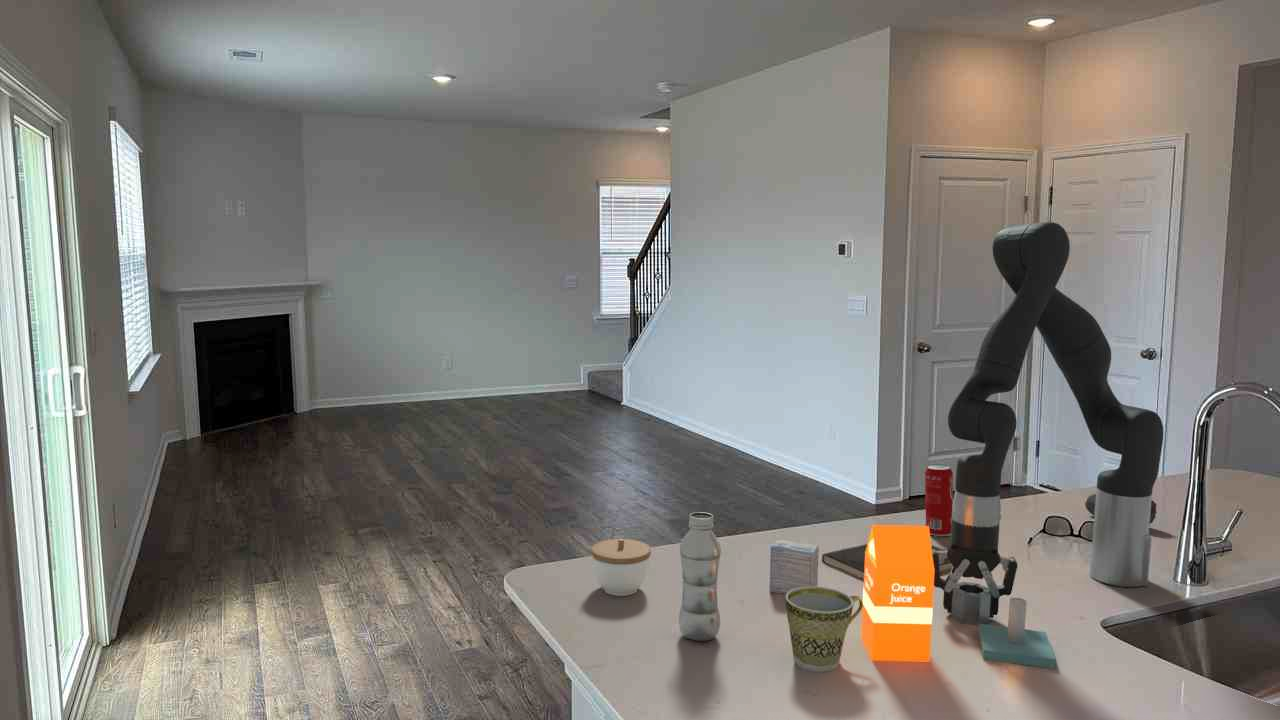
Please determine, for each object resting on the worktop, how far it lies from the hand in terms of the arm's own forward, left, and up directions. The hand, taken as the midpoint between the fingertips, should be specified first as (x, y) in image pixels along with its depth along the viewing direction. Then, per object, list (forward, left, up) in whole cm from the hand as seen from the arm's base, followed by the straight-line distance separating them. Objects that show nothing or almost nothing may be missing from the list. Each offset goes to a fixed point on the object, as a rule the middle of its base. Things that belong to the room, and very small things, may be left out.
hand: (969, 613), depth 152 cm
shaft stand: (-6, +11, -1) cm, 13 cm away
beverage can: (+4, -46, -1) cm, 46 cm away
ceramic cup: (+22, +24, -1) cm, 33 cm away
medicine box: (+30, -2, -1) cm, 30 cm away
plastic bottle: (+42, +22, -1) cm, 47 cm away
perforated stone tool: (-36, -68, -1) cm, 77 cm away
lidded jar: (+60, +7, -1) cm, 60 cm away
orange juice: (+12, +17, -1) cm, 21 cm away
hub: (0, 0, -1) cm, 1 cm away
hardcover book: (+13, -23, -1) cm, 26 cm away
